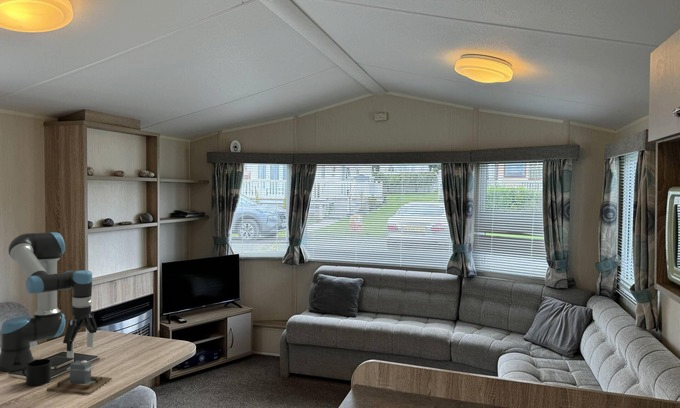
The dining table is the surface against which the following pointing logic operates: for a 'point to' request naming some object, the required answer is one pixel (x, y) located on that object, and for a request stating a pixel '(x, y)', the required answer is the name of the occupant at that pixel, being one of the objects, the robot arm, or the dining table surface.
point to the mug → (38, 372)
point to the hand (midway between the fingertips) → (80, 352)
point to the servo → (80, 372)
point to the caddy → (79, 385)
